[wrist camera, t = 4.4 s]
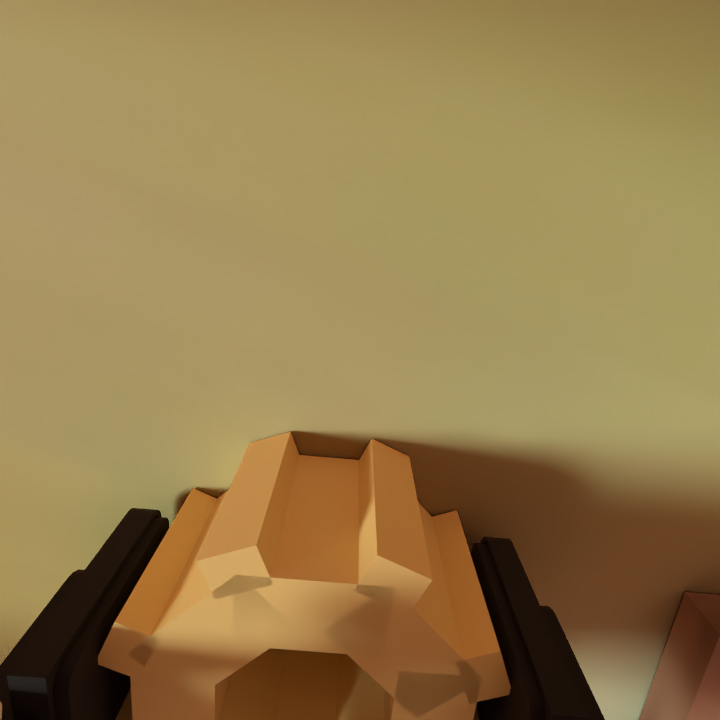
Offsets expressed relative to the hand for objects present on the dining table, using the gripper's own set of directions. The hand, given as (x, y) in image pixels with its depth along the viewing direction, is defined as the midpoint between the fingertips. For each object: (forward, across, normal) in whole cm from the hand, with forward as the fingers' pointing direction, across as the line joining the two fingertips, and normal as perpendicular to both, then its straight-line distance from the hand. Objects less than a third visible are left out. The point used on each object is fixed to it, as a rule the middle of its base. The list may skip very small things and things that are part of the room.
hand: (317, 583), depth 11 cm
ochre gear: (+1, 0, 0) cm, 1 cm away
